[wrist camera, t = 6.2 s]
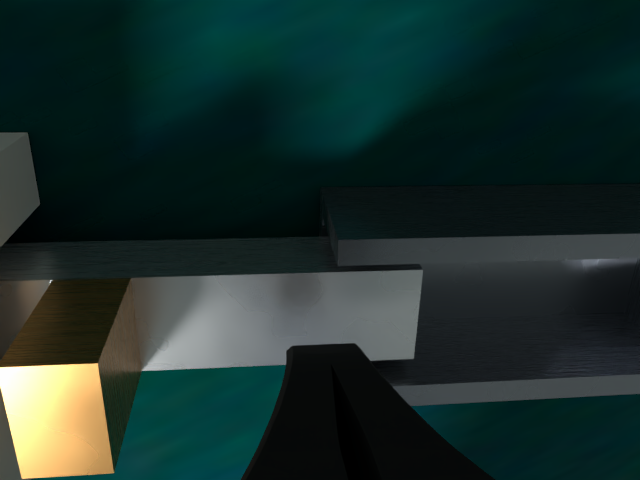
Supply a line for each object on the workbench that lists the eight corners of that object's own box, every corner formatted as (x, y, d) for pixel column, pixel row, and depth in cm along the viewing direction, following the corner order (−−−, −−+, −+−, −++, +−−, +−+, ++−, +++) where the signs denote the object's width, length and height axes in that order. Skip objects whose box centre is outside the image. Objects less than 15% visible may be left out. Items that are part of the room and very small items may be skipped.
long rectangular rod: (395, 316, 16) (454, 451, 12) (-76, 332, 15) (-223, 494, 10) (402, 234, 15) (469, 347, 11) (-101, 245, 14) (-275, 379, 9)
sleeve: (627, 320, 18) (705, 390, 15) (316, 332, 17) (331, 410, 14) (664, 183, 16) (760, 230, 13) (320, 187, 15) (338, 240, 12)
